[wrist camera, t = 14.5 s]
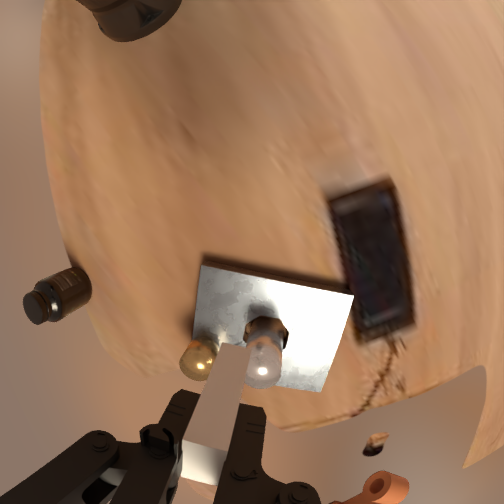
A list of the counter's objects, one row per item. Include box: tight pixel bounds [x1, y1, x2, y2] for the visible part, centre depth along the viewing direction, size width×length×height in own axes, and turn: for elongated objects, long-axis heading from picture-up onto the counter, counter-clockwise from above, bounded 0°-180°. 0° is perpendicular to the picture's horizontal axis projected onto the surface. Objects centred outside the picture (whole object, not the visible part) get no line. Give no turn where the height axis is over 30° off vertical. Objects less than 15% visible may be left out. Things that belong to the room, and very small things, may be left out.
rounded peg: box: [244, 315, 284, 389], centre depth 35 cm, size 5×5×11 cm
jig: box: [179, 261, 354, 392], centre depth 37 cm, size 20×16×7 cm
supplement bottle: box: [23, 267, 92, 325], centre depth 37 cm, size 7×7×12 cm
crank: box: [329, 471, 409, 504], centre depth 43 cm, size 20×8×8 cm, turn 142°
